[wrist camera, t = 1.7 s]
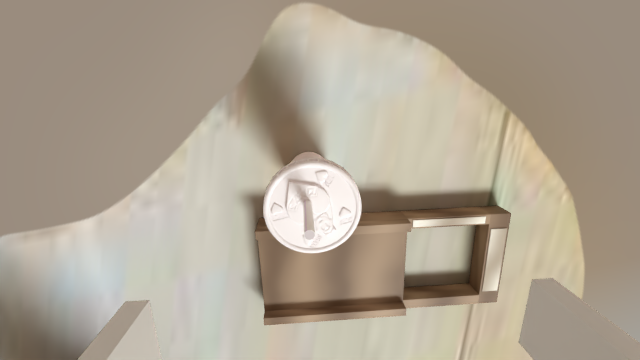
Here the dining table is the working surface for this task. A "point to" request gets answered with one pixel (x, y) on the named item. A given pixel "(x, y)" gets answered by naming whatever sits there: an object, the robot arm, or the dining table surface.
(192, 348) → the dining table surface
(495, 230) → the rail board
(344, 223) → the smoothie
